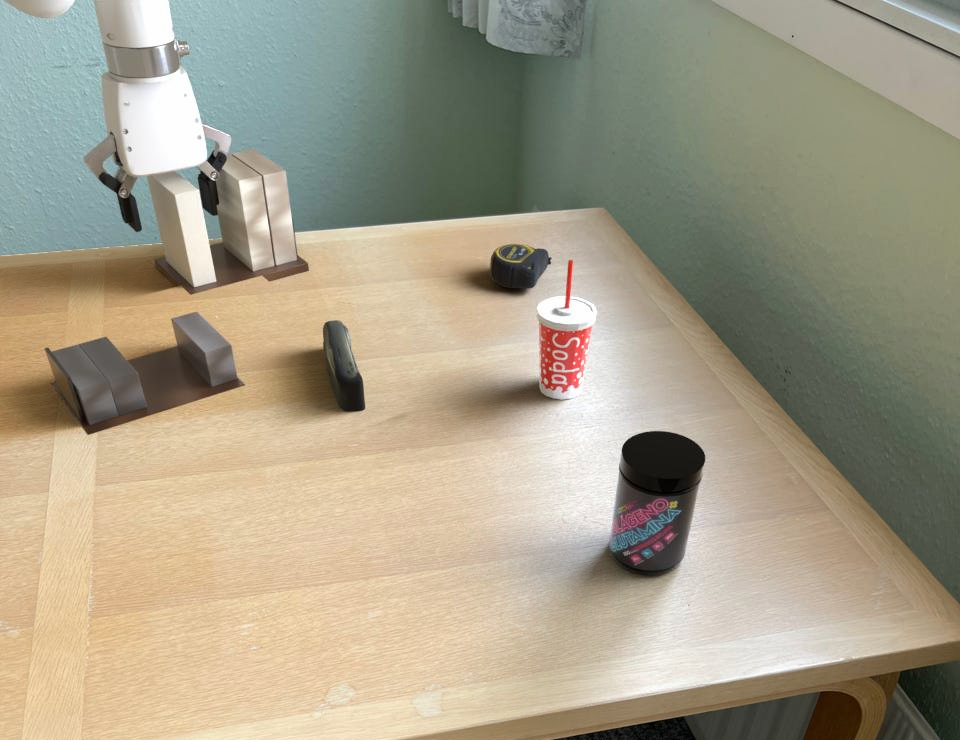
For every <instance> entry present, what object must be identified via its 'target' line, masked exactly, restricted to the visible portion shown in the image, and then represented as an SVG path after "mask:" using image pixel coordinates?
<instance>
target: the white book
mask: <svg viewBox="0 0 960 740" xmlns="http://www.w3.org/2000/svg"><path fill="white" fill-rule="evenodd" d="M146 180H147V184H148V188H149V193H150V196H151V201H152V205H153V210H154V214H155V219H156V224H157V228H158V233H159V237H160V241H161V246H162V250H163V254H164V257H165V259H166V262H167V263H169V264H170V265H171V266H172V267H173V268H174V269H175V270H176V271H177V272H178V273H179V274H180V275H181V276H182V277H183V278H185V279H186V280H187V281H188V282H189V283H190V284H191V285H192V286H193V287H197V286H201V285H205V284H209V283H212V282H216V277H215V272H214V266H213V261H212V256H211V251H210V246H209V245H210V240H209V235H208V231H207V230H208V229H207V226H206V220H205V214H204V211H203V210H204V208H203V207H202V201H201V195H200V189H198V188H197V187H196V186H194V185H193V184H192V183H190V182H189V181H188V180H187V179H186V178H185V177H183V176H182V175H181V174H179V173H178V171H173V172H168V173H162V174H156V175H151V176H146Z"/></svg>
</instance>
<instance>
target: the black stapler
mask: <svg viewBox="0 0 960 740" xmlns="http://www.w3.org/2000/svg"><path fill="white" fill-rule="evenodd" d="M348 329H349V328H347V326H346V325H345V324H343V322H342V321H341V320H338V319H337V320H336V319H335V320H334V319H333V320H328V321H326V322H324V324H323V327H322V337H323V338H322V340H323V341H322V349H323V357H324V358H323V359H324V365H325V369H326V373H327V375H328V378H329V382H330V385H331V388H332V391H333V394H334V396H335V399H336V401H337V404H338V407H339V409H340V410H341V411H344V412H347V413H354V412H363V411H364V410H366V399H365V386H364V380H363V377H362V375H361V373H360V371H359V367H358V364H357V362H356V359H355V356H354V353H353V351H352V342H351V341H352V340H351V334H350V332H349V330H348Z"/></svg>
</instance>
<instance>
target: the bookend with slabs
mask: <svg viewBox="0 0 960 740" xmlns="http://www.w3.org/2000/svg"><path fill="white" fill-rule="evenodd" d="M216 185H217V191H218V197H219V205H217V211H218V215H217V217H218V224H219V228H220V234H221V240H222V242H217V243H213V244H209V246H210V251H211V256H212V261H213V266H214V272H215V277H216V282H212V283H209V284H205V285H201V286H197V287H193V286H192V285H191V284H190V283H189V282H188V281H187V280H186V279H185V278H183V277H182V276H181V275H180V274H179V273H178V272H177V271H176V270H175V269H174V268H173V267H172V266H171V265H170V264H169V263H167V262H166V259H165V256H161V257H157V258H153V262H154V267H155V268H156V269H157V270H158V271H159V272H161V273H162V274H163V276H165V277H166V278H167V279H168V280H169V281H170V282H171V283H172V284H173V285H174V286H175V287H182V288H183V289H184V290H185V291H186V292H187V293H188V294H190V295H191V296H192V295H195V294H198V293H203V292H206V291H211V290H213V289H218V288H221V287H225V286H229V285H232V284H236V283H240V282H243V281H247V280H251V279H255V278H259V277H263V278H264V279H265V280H266V281H268V282H271V281H275V280H278V279H279V280H280V279H282V278H286V277H290V276H293V275H296V274H297V275H298V274H301V273H305V272H308V271H310V266H309V262H308V261H306V260H305V259H304V258H302V257H301V256H300V255H299V254H298V247H297V240H296V232H295V223H294V218H293V216H292V210H291V209H292V208H291V203H290V194H289V193H290V192H289V186H288V178H287V170H285V169H284V168H283V167H281V166H280V165H278V164H277V163H275V162H274V161H272V160H271V159H269V158H268V157H266V156H265V155H263V154H262V153H260V152H258V150H256V149H254V148H251V149H246V150H242V151H236V152H232V153H227V161H226V163H225V164H224V166H223V167H222V169H221V170H220V172H219V178H218V179H217V180H216Z"/></svg>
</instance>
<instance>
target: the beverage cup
mask: <svg viewBox="0 0 960 740" xmlns="http://www.w3.org/2000/svg"><path fill="white" fill-rule="evenodd" d="M573 267H574V260H573V259H569V260H568V261H567V272H566V286H565V287H566V288H565V295H562V296H561V295H559V296H552V297H548V298H545V299H543V300H542V301H540V302H539V303H538V305H537V307H536V318H537V320H538V349H539V350H538V354H539V355H538V358H539V359H538V362H539V364H538V365H539V366H538V367H539V368H538V369H539V371H538V373H539V376H538V377H539V379H538V380H539V384H538V385H539V390H540V392H541V394H543V395H544V396H546V397H548V398H551V399H554V400H561V401H562V400H570V399H574V398H576V397H578V396H579V395H581V393H582V390H583V385H584V378H585V373H586V366H587V362H588V361H587V360H588V355H589V348H590V343H591V337H592V336H591V335H592V330H593V325H594V324H595V322H596V319H597V314H598V310H597V307H596V306H595V304H594V303H592V302H590V301H588V300H586V299H584V298H580V297H578V296H577V297H576V296H571V294H572V293H571V292H572V279H573V270H574V269H573Z"/></svg>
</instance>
